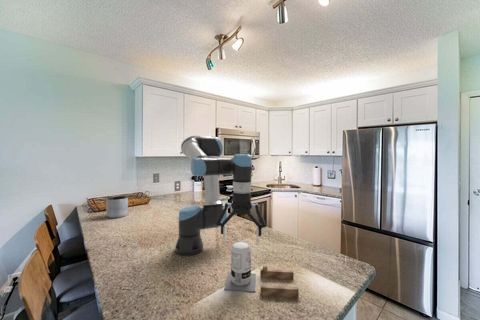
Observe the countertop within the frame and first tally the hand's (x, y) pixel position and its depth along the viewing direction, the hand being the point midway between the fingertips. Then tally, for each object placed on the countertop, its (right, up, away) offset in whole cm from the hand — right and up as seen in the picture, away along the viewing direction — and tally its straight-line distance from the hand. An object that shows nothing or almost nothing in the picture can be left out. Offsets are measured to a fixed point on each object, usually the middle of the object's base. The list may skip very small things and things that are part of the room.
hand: (240, 242), depth 88 cm
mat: (0, -16, 0) cm, 16 cm away
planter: (-105, -14, +93) cm, 141 cm away
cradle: (+15, -16, -2) cm, 22 cm away
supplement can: (0, -16, 0) cm, 16 cm away
